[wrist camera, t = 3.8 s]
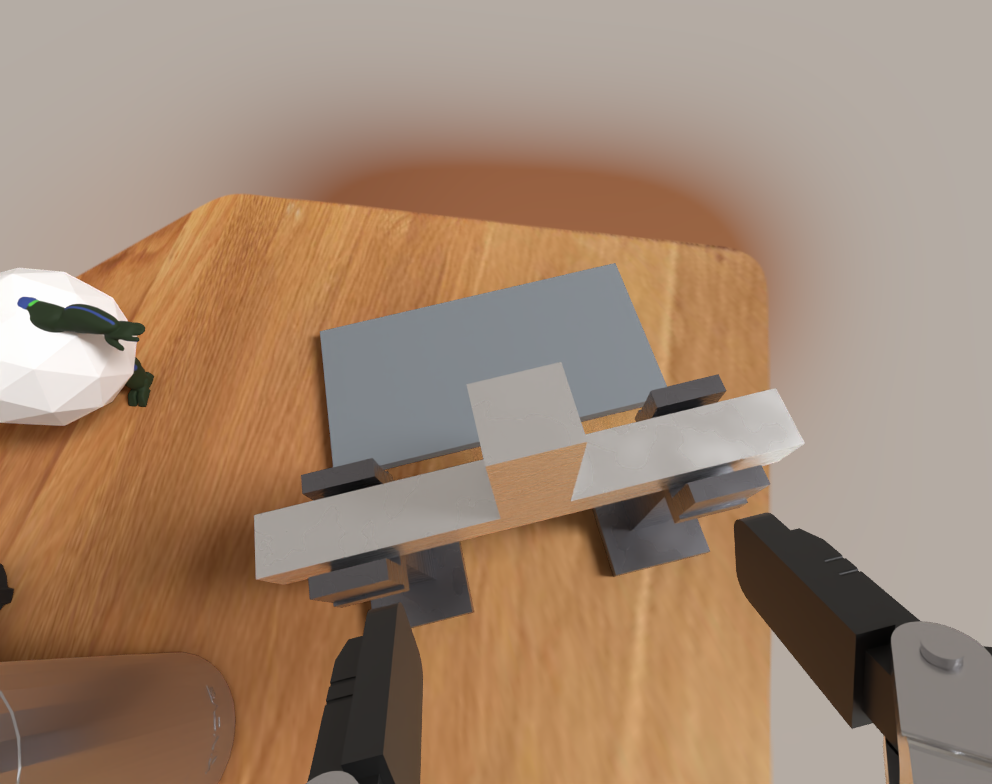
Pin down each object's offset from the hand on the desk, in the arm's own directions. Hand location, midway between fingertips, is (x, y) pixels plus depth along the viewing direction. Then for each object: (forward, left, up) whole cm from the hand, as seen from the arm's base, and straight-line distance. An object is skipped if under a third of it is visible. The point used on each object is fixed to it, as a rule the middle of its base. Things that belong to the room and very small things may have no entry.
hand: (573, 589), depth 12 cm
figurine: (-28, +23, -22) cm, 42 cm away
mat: (0, +18, -22) cm, 28 cm away
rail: (0, +5, -10) cm, 11 cm away
